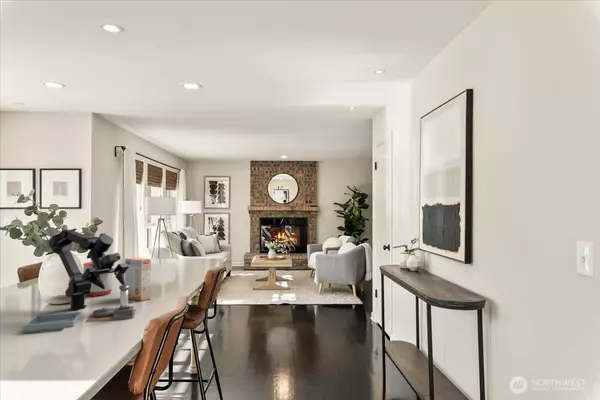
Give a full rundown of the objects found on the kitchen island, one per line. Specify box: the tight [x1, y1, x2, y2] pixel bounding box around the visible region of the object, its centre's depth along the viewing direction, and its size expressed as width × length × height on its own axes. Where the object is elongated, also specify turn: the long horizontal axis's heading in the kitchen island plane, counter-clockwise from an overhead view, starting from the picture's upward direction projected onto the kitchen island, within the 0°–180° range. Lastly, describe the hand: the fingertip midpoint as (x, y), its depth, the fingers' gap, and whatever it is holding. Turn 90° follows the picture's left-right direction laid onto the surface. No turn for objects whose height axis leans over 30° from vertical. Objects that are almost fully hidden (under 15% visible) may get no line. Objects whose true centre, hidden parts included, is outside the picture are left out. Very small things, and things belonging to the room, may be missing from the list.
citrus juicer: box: [82, 261, 116, 297], centre depth 205 cm, size 16×17×20 cm
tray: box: [23, 311, 82, 335], centre depth 149 cm, size 14×16×3 cm
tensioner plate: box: [84, 305, 137, 324], centre depth 160 cm, size 15×18×4 cm
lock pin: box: [118, 284, 130, 310], centre depth 159 cm, size 4×4×13 cm
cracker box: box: [124, 257, 152, 302], centre depth 195 cm, size 14×6×21 cm, turn 58°
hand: (114, 286), depth 162 cm, fingers open, 9 cm apart
